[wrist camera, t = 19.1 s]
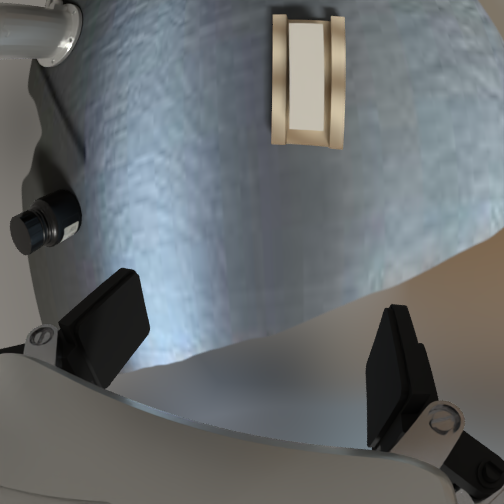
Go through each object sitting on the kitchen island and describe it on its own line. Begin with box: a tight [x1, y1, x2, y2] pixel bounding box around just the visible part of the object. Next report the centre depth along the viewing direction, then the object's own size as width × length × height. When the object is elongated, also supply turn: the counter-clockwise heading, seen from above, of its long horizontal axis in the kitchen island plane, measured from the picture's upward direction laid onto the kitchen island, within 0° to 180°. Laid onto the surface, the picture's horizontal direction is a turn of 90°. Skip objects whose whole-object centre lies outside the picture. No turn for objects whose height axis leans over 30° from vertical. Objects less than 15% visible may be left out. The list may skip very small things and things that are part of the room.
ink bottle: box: [10, 190, 81, 255], centre depth 42 cm, size 10×9×12 cm
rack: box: [271, 14, 345, 150], centre depth 29 cm, size 16×8×3 cm, turn 179°
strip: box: [289, 23, 324, 131], centre depth 28 cm, size 12×4×4 cm, turn 0°
